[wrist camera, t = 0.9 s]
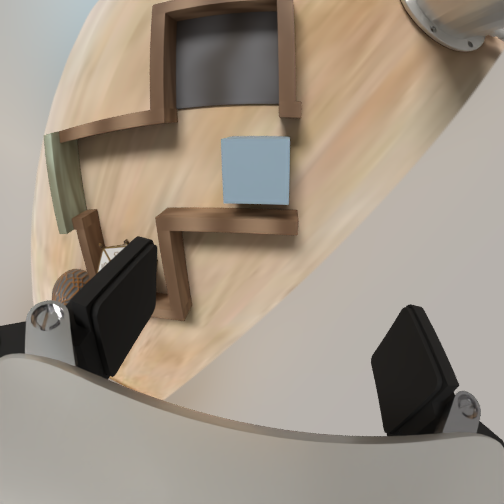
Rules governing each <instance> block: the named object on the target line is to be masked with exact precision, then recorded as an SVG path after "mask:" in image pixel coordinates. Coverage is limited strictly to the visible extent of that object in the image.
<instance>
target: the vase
mask: <svg viewBox="0 0 504 504" xmlns="http://www.w3.org/2000/svg"><path fill="white" fill-rule="evenodd" d="M89 280H90V278H89V275H88V272H86V271H84V270H81V269H72V270H69V271H67V272H65V273H64V274H63V275H61V276H60V277H59V278H58V280H57V281H56V283H55V285H54V287H53V291H52V300H54V301H58V302H61V303H62V304H64V305H65V306H66V305H67V304H68V302H69V301H70V300H71V299H72V298H73V297H74V296H75V295H76V293H77V292H78V291H79V290H80V289H81V288H82V287H83V286H84V285H85V284H86V283H87V282H88V281H89Z"/></svg>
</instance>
